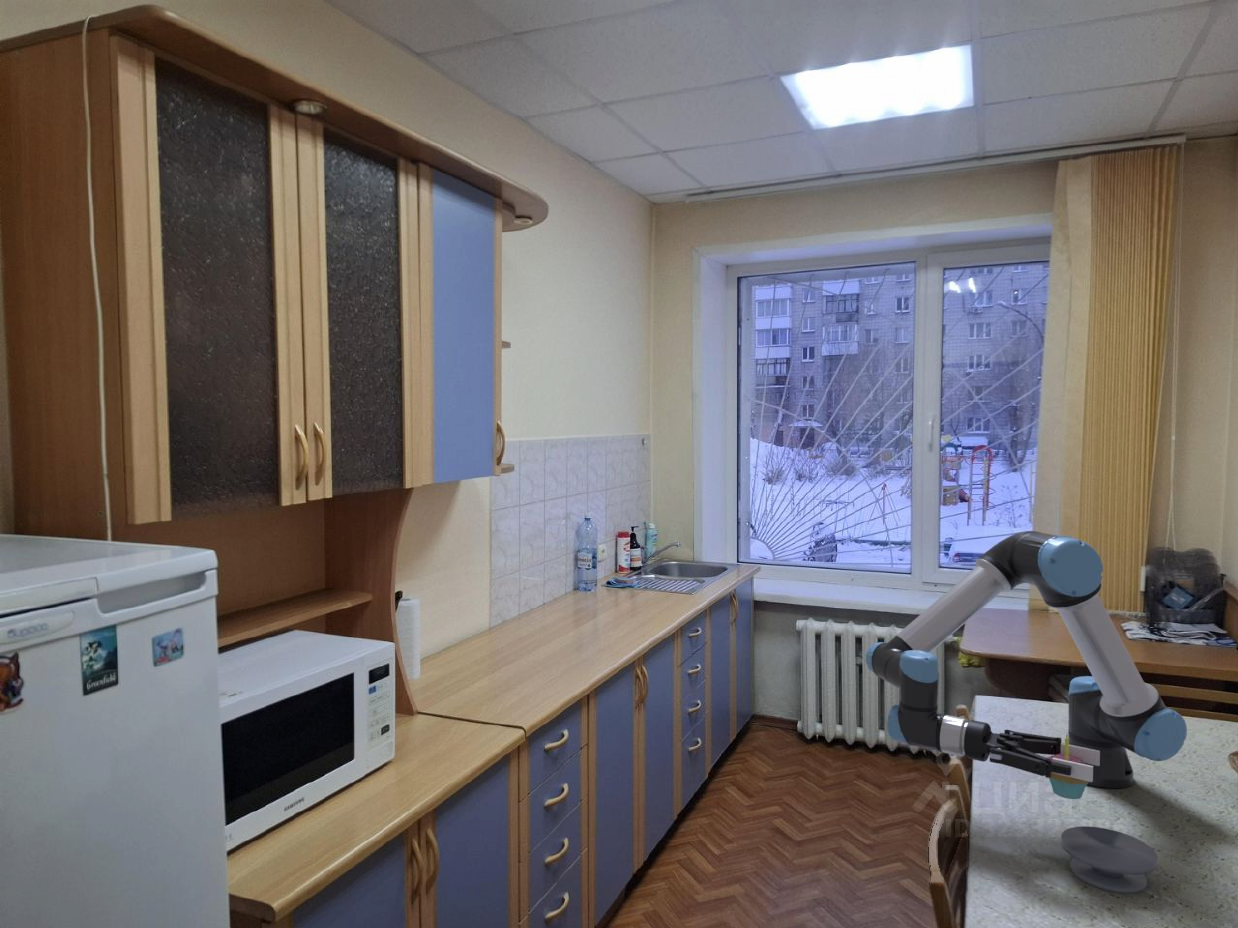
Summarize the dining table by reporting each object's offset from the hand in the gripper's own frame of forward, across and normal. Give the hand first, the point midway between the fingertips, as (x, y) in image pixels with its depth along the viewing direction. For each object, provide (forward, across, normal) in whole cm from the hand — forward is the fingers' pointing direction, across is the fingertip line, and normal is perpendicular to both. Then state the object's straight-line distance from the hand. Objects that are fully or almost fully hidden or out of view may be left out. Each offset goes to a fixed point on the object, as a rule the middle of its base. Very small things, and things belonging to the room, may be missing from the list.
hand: (1096, 765), depth 151 cm
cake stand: (+3, +2, -19) cm, 19 cm away
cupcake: (-5, 0, -7) cm, 8 cm away
